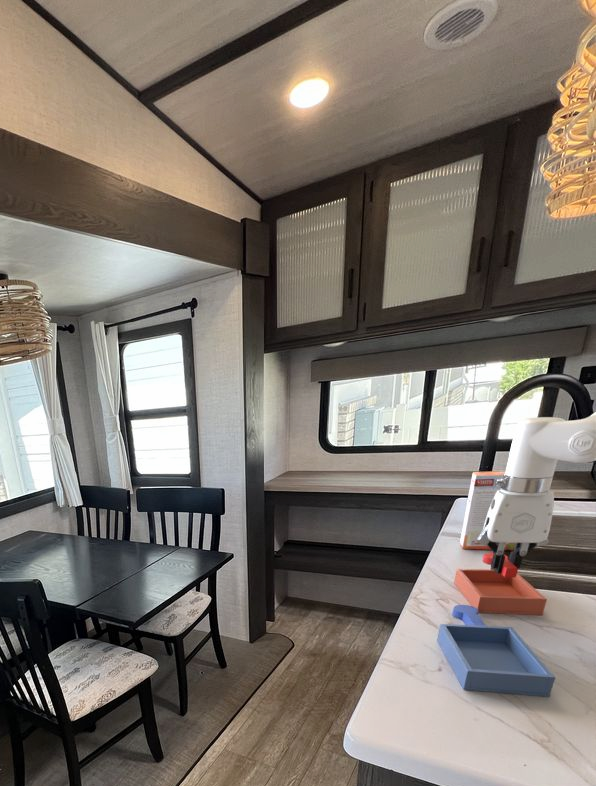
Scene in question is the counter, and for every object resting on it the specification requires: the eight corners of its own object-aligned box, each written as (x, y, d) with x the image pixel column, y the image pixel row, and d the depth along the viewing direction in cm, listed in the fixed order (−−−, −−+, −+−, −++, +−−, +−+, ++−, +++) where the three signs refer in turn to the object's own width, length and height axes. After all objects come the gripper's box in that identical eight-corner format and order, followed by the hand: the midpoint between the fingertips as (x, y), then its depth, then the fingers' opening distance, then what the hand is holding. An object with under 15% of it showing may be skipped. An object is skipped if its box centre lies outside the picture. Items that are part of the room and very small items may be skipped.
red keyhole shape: (522, 577, 96) (525, 568, 95) (497, 577, 97) (500, 568, 96) (502, 559, 106) (504, 550, 105) (479, 558, 107) (481, 550, 106)
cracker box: (517, 545, 132) (535, 469, 123) (522, 551, 127) (542, 473, 119) (458, 542, 138) (472, 470, 129) (461, 549, 133) (476, 474, 124)
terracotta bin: (510, 584, 110) (513, 569, 108) (542, 615, 95) (547, 599, 94) (453, 582, 113) (456, 568, 112) (476, 612, 99) (480, 597, 97)
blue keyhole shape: (492, 636, 90) (494, 627, 89) (465, 635, 91) (467, 626, 90) (473, 611, 99) (475, 602, 98) (449, 610, 100) (451, 602, 100)
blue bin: (507, 644, 87) (512, 627, 85) (549, 697, 72) (555, 677, 71) (436, 640, 90) (440, 623, 89) (463, 689, 76) (467, 671, 74)
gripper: (485, 489, 91) (466, 576, 99) (585, 487, 86) (557, 579, 94) (473, 481, 98) (455, 564, 105) (565, 479, 93) (540, 566, 101)
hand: (503, 570), depth 100 cm, fingers closed on red keyhole shape, 2 cm apart
